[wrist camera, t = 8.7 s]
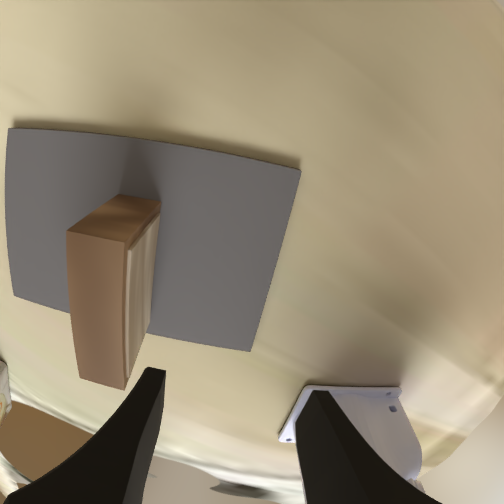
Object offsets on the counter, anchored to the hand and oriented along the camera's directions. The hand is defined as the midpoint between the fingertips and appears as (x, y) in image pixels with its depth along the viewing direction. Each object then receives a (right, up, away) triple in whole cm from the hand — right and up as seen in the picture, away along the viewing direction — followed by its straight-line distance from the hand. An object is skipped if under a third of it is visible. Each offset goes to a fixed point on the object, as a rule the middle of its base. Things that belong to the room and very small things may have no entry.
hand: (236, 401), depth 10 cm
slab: (-6, +4, +7) cm, 11 cm away
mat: (-7, +6, +7) cm, 12 cm away
